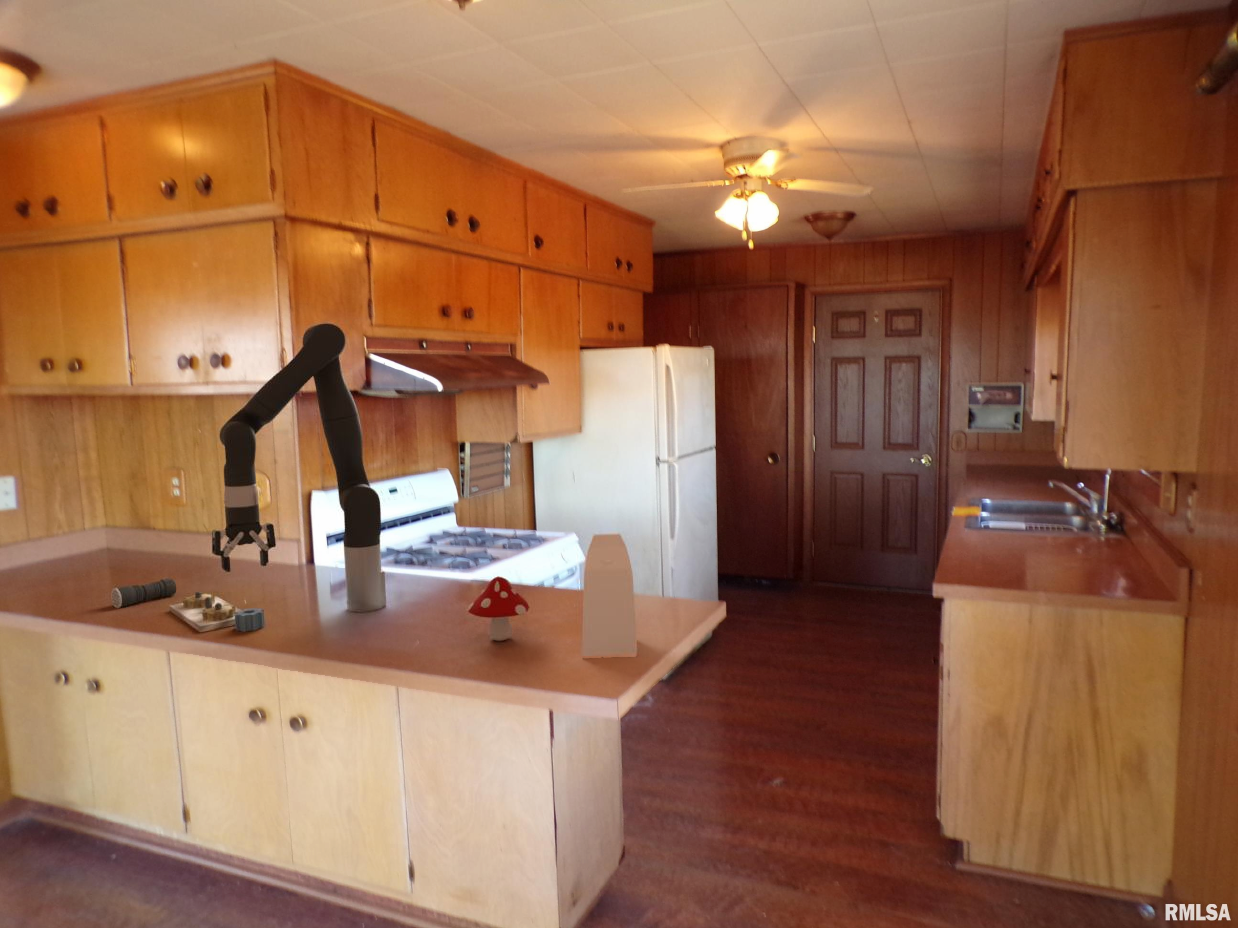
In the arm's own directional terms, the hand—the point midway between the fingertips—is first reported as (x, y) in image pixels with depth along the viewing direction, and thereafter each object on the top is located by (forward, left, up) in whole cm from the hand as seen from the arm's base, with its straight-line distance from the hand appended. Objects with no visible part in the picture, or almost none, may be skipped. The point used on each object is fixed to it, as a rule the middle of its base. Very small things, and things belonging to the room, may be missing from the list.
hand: (245, 568), depth 201 cm
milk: (-51, +76, -15) cm, 93 cm away
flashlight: (+12, -47, -15) cm, 51 cm away
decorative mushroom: (-38, +53, -15) cm, 67 cm away
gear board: (+4, -18, -15) cm, 24 cm away
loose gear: (0, 0, -15) cm, 15 cm away
